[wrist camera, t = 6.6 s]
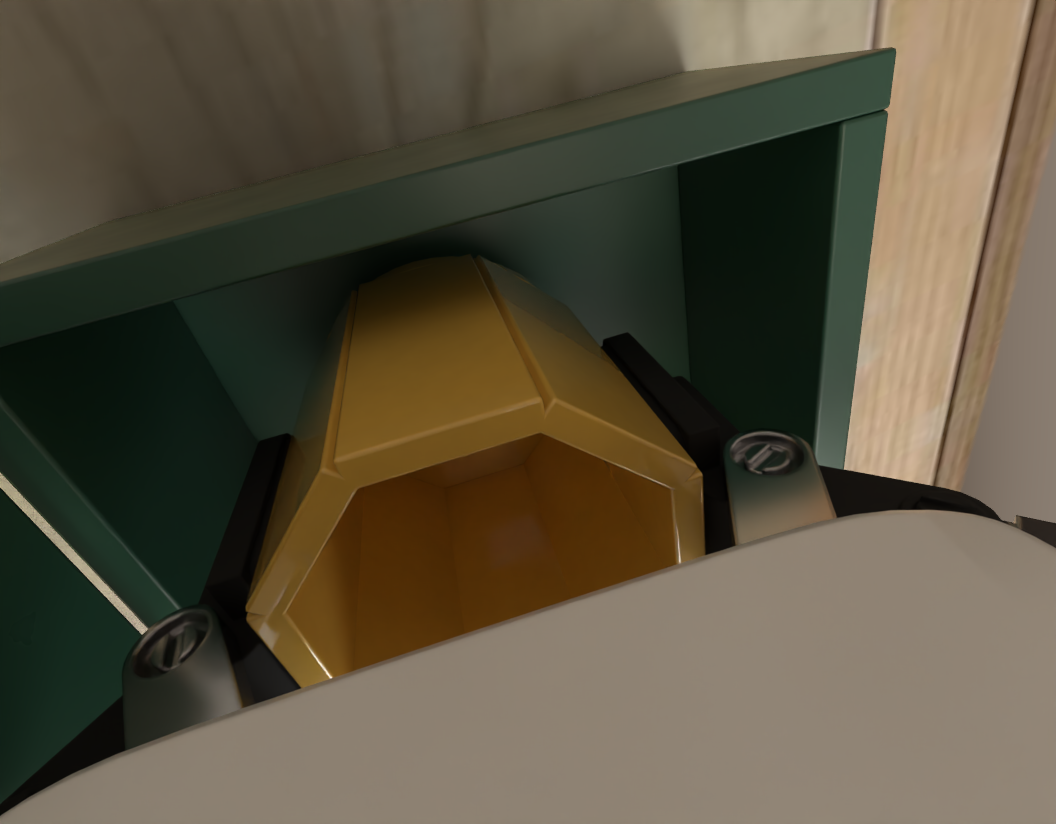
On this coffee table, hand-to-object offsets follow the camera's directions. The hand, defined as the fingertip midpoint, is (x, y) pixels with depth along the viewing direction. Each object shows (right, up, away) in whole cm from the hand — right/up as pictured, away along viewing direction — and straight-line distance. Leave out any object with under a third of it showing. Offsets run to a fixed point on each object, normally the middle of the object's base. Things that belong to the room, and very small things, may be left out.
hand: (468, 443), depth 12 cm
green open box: (0, +2, +5) cm, 5 cm away
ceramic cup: (-1, +1, +2) cm, 2 cm away
